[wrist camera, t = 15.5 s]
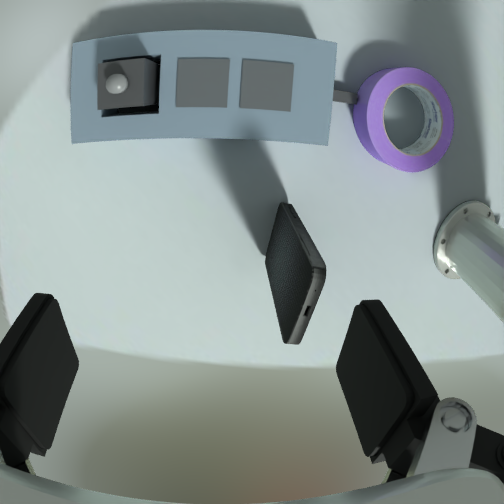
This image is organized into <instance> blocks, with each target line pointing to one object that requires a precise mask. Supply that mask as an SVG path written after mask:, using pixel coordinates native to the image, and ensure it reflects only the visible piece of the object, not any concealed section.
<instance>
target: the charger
mask: <svg viewBox="0 0 504 504" xmlns="http://www.w3.org/2000/svg"><path fill="white" fill-rule="evenodd" d="M160 68H161V65H159V64H157V63H155V62H153V61H150V60H148V59H146V58H140V59H130V60H121V61H113V62H106V63H99V64H98V83H97V110H102V109H112V108H123V107H135V106H146V105H153V104H159V90H160Z"/></svg>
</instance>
